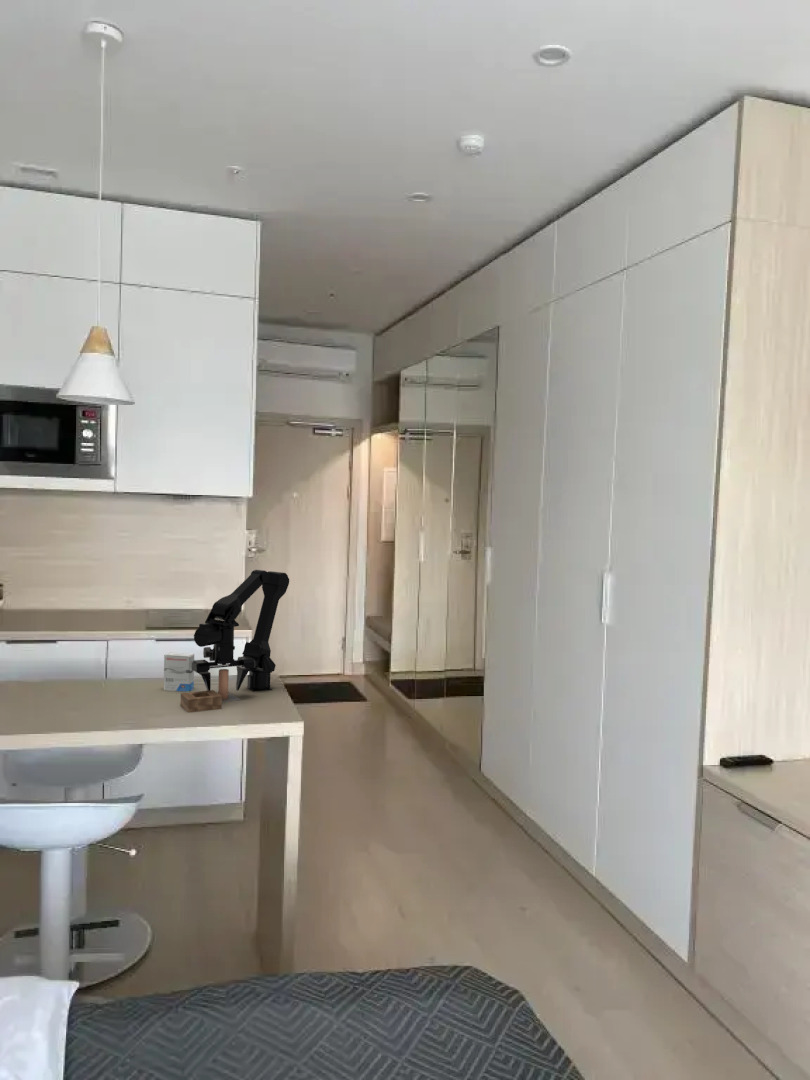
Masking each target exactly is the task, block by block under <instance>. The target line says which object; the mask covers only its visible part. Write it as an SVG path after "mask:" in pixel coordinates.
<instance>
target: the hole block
mask: <svg viewBox="0 0 810 1080" xmlns="http://www.w3.org/2000/svg"><path fill="white" fill-rule="evenodd" d="M222 705H223V702H222V696H221V695H219V694H218V692H217V691H216V690H214V689H210V690H209V691H207V690H201V691H200V690H199V691H189V692H183V693H182V692H180V707H182V709H184V710H185V711H186V712H187V713H195V712H205V711H212V710H213V711H214V710H221V709H223V707H222Z"/></svg>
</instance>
